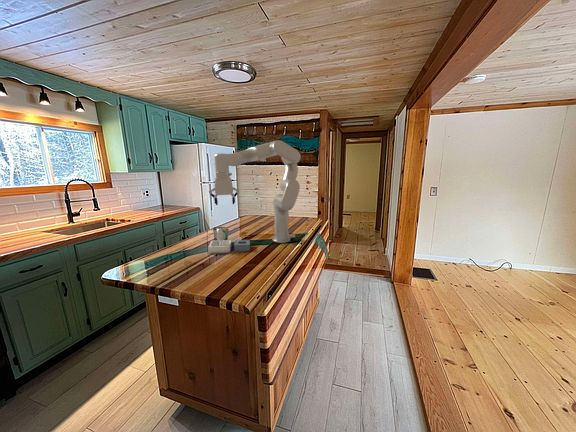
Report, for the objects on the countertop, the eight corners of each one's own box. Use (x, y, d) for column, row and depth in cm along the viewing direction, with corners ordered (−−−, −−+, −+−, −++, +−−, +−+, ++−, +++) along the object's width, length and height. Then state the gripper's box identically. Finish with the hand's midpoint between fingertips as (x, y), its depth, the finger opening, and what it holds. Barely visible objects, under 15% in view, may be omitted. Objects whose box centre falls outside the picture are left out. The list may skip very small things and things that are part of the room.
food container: (233, 242, 153) (233, 228, 151) (226, 245, 148) (225, 230, 146) (220, 239, 159) (219, 225, 157) (213, 242, 154) (212, 227, 152)
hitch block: (249, 246, 147) (249, 239, 146) (249, 250, 139) (249, 244, 138) (235, 246, 146) (235, 240, 145) (234, 251, 137) (234, 245, 136)
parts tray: (231, 246, 147) (231, 239, 146) (229, 252, 135) (229, 246, 134) (211, 246, 145) (211, 240, 144) (208, 253, 133) (208, 247, 133)
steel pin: (223, 247, 142) (222, 228, 139) (223, 248, 139) (222, 229, 136) (218, 247, 141) (217, 228, 139) (217, 249, 138) (216, 229, 136)
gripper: (238, 174, 140) (240, 202, 144) (208, 175, 137) (211, 204, 141) (237, 175, 133) (239, 204, 137) (206, 176, 130) (209, 206, 134)
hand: (225, 204), depth 139 cm, fingers open, 9 cm apart
